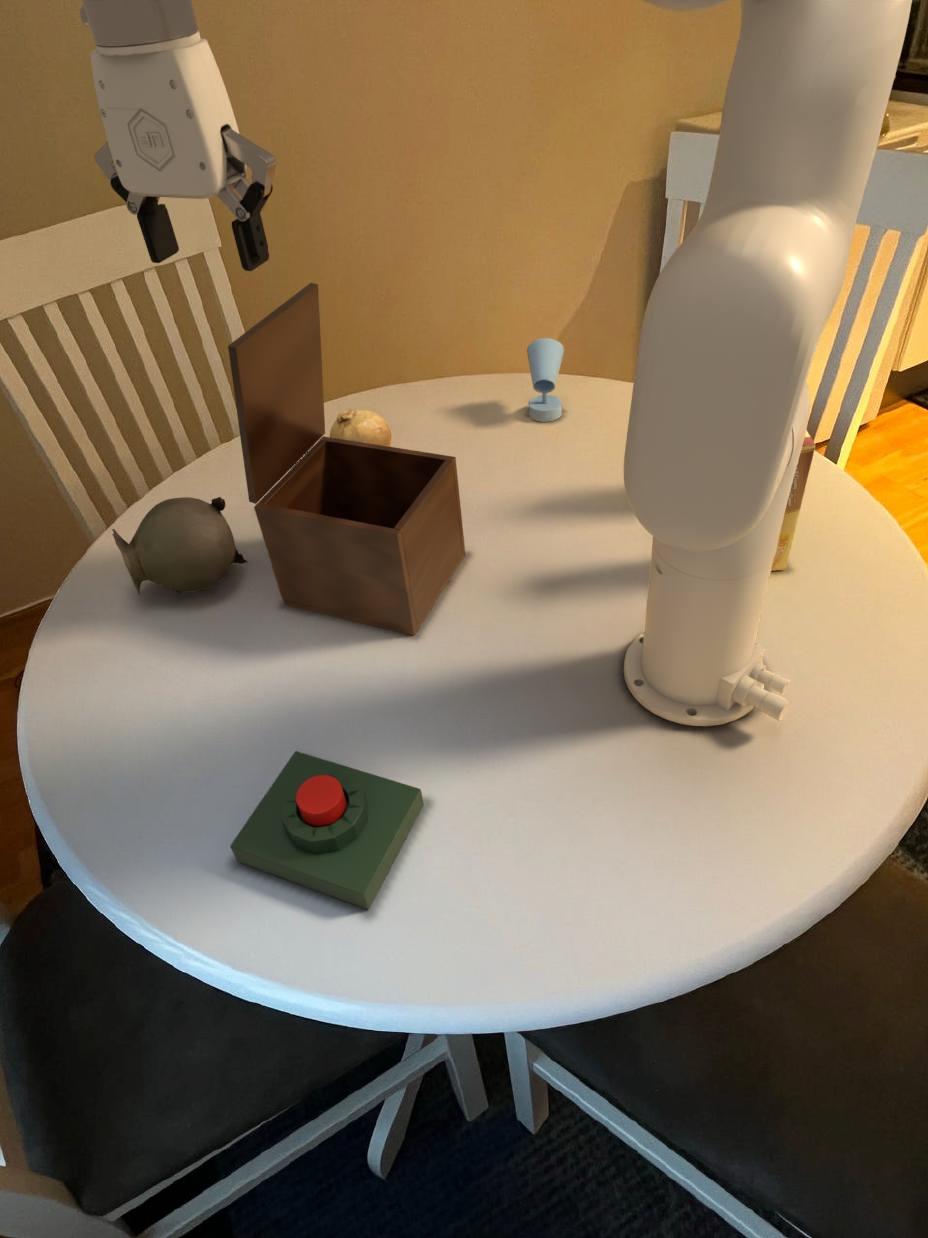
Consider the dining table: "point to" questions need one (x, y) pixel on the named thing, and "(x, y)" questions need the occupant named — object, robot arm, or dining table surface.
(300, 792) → the button
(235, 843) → the control
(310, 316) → the lid
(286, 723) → the dining table surface
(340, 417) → the onion
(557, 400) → the spotlight
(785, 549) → the candy box
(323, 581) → the chest
